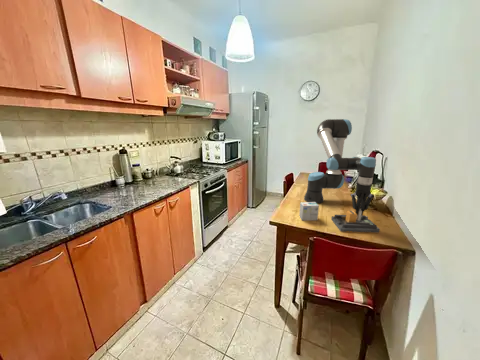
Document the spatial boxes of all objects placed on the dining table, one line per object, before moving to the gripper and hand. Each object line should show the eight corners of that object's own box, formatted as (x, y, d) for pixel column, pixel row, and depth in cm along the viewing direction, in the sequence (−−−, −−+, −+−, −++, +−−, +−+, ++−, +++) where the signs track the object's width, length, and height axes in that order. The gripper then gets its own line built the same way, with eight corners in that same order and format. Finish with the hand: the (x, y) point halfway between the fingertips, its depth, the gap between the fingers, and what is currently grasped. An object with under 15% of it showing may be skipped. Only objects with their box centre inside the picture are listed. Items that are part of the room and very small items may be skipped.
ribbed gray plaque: (334, 216, 133) (334, 214, 132) (366, 217, 131) (366, 215, 131) (343, 227, 119) (343, 224, 119) (379, 228, 118) (379, 226, 117)
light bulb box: (313, 216, 139) (315, 201, 136) (317, 220, 133) (319, 205, 130) (298, 216, 139) (299, 201, 136) (301, 220, 133) (303, 205, 130)
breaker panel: (331, 219, 134) (332, 213, 133) (365, 220, 132) (366, 214, 131) (340, 231, 120) (341, 224, 118) (379, 232, 118) (380, 225, 117)
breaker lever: (345, 220, 128) (347, 210, 126) (351, 220, 128) (353, 210, 126) (348, 223, 123) (350, 213, 122) (355, 223, 123) (357, 213, 121)
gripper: (356, 185, 115) (349, 222, 122) (379, 185, 114) (372, 222, 121) (350, 181, 122) (344, 216, 129) (372, 181, 121) (365, 217, 128)
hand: (357, 219), depth 125 cm, fingers closed
